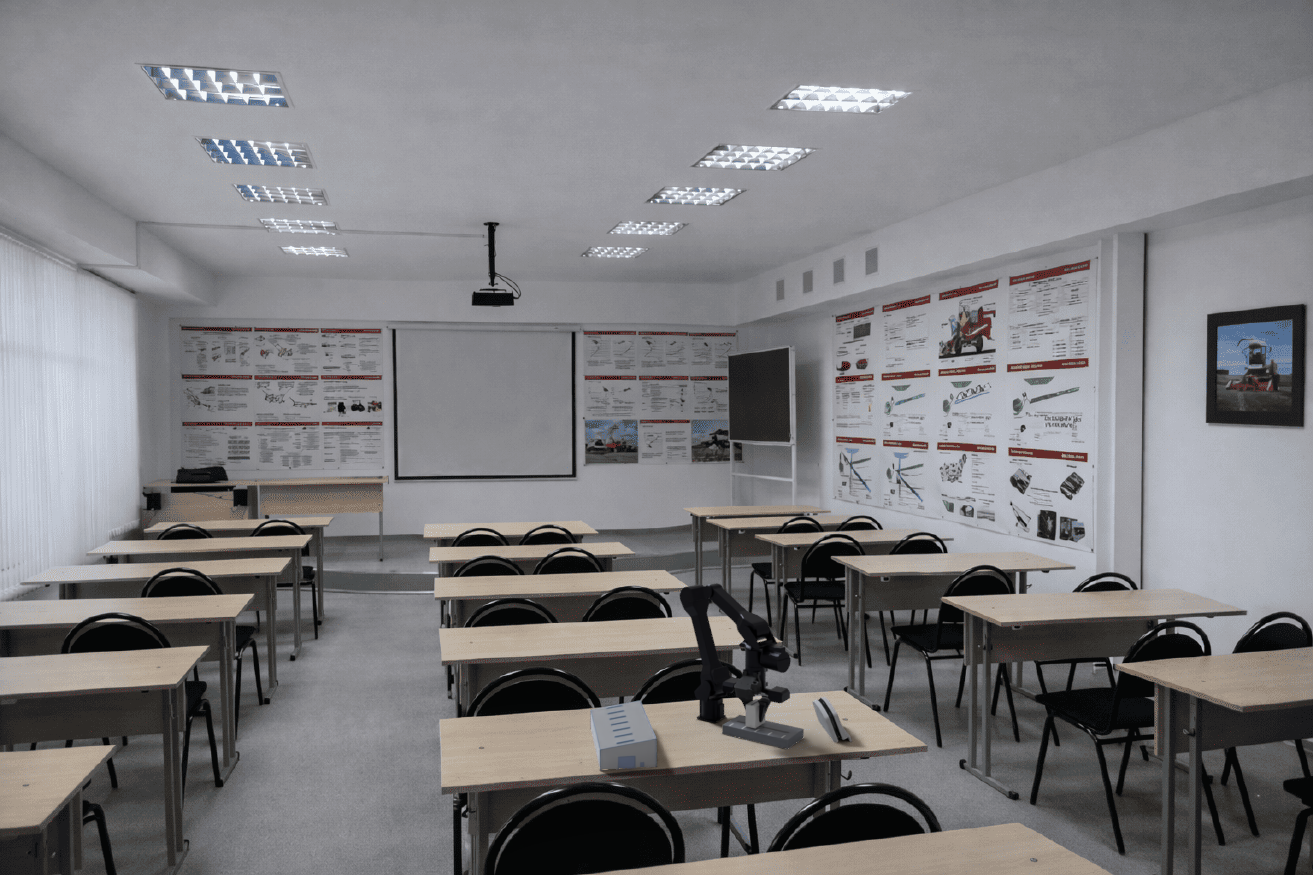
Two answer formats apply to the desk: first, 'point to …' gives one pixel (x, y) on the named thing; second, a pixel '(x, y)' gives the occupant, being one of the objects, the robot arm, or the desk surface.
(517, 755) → the desk surface
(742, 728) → the fader board
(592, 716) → the warehouse
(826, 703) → the grey curved piece
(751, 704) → the fader knob
